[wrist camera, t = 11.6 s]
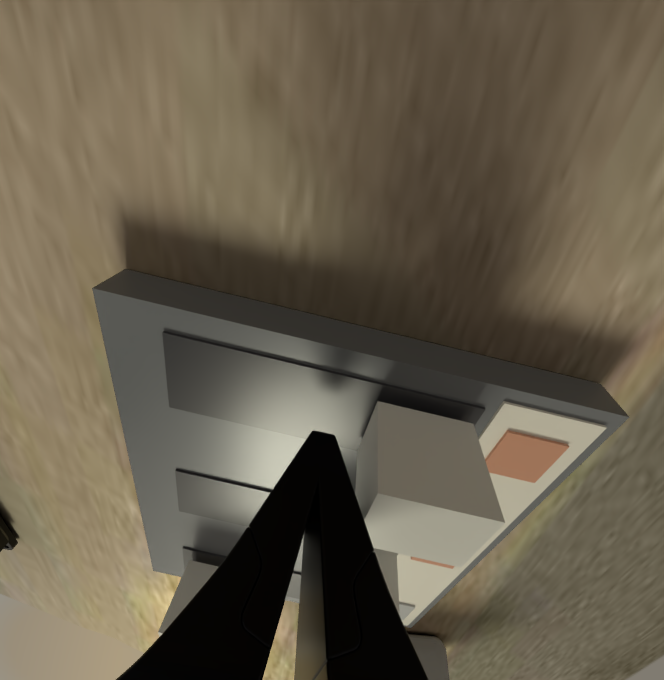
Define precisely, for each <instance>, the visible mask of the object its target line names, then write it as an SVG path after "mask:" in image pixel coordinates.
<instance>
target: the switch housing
mask: <svg viewBox="0 0 664 680" xmlns="http://www.w3.org/2000/svg"><path fill="white" fill-rule="evenodd" d="M92 289H93V294H94V298H95V303H96V307H97V312H98V317H99V321H100V326H101V331H102V335H103V340H104V344H105V349H106V354H107V358H108V363H109V368H110V372H111V377H112V381H113V386H114V391H115V395H116V400H117V405H118V409H119V414H120V419H121V423H122V428H123V432H124V437H125V442H126V446H127V451H128V456H129V460H130V465H131V469H132V474H133V479H134V483H135V488H136V493H137V497H138V502H139V506H140V511H141V516H142V520H143V525H144V530H145V534H146V539H147V543H148V548H149V553H150V557H151V562H152V567H153V571H157V572H161V573H166V574H170V575H175V576H179V577H182V576H183V573H184V571H185V569H186V566H187V564H188V562H189V560H191V561H196V562H200V563H205V564H209V565H214V566H218V567H219V566H220V565H221V563H222V562H223V561H224V560H225V558H226V557H227V555H228V554H229V553H230V551H231V550H232V548H233V547H234V546H235V544H236V543H237V541H238V540H239V538H240V537H241V536H242V534H243V533H244V531H245V530H246V528H247V527H249V524H250V522H251V521H252V519H253V518H254V516H255V515H256V513H257V512H258V511H259V509H260V508H261V506H262V505H263V503H264V502H265V500H266V499H267V497H268V496H269V494H270V493H271V491H272V490H273V488H274V487H275V485H276V484H277V482H278V481H279V479H280V478H281V476H282V475H283V473H284V472H285V470H286V469H287V467H288V466H289V464H290V463H291V461H292V460H293V458H294V457H295V455H296V454H297V452H298V451H299V449H300V448H301V446H302V445H303V443H304V442H305V440H306V439H307V437H308V436H309V434H310V433H311V432H312V431H313V430H315V431H319V432H324V433H329V434H333V435H335V436H336V439H337V442H338V445H339V448H340V450H341V453H342V456H343V459H344V462H345V465H346V468H347V471H348V474H349V477H350V480H351V483H352V486H353V489H354V492H355V489H356V471H357V454H358V449H359V446H360V444H361V441H362V439H363V436H364V434H365V431H366V429H367V426H368V424H369V421H370V419H371V416H372V414H373V411H374V409H375V406H376V404H377V401H380V402H384V403H388V404H392V405H396V406H401V407H405V408H409V409H413V410H418V411H422V412H426V413H430V414H434V415H439V416H443V417H447V418H451V419H455V420H460V421H464V422H468V423H472V424H474V427H475V430H476V433H477V436H478V439H479V443H480V446H481V449H482V452H483V455H484V458H485V461H486V464H487V467H488V471H489V474H490V477H491V480H492V483H493V486H494V489H495V492H496V495H497V498H498V502H499V505H500V508H501V511H502V514H503V517H504V520H505V524H504V525H503V526H502V527H501V528H500V529H499V530H498V531H497V532H496V533H495V534H494V535H493V536H492V537H491V538H490V539H489V540H488V541H487V542H486V543H485V544H484V545H483V546H482V547H481V548H480V549H479V550H478V551H477V552H476V553H475V554H474V555H473V556H472V557H471V558H470V559H469V560H468V561H467V562H466V563H465V564H464V565H463V566H462V567H461V568H460V567H456V566H451V565H447V564H442V563H438V562H434V561H429V560H425V559H420V558H416V557H412V556H407V555H403V554H398V553H397V569H398V590H399V611H400V618H401V620H402V622H403V624H404V626H405V627H409V628H411V627H413V626H414V625H415V624H416V623H417V622H418V621H419V620H420V619H421V618H422V617H423V616H424V615H425V614H426V613H427V612H428V611H429V610H430V609H431V608H432V607H433V606H434V605H435V604H436V603H437V602H438V601H439V600H440V599H442V598H443V597H444V596H445V595H446V594H447V593H448V592H449V591H450V590H451V589H452V588H453V587H454V586H455V585H456V584H457V583H458V582H459V581H460V580H461V579H462V578H463V577H464V576H465V575H466V574H467V573H468V572H469V571H471V570H472V569H473V568H474V567H475V566H476V565H477V564H478V563H479V562H480V561H481V560H482V559H483V558H484V557H485V556H486V555H487V554H488V553H489V552H490V551H491V550H492V549H493V548H494V547H495V546H496V545H497V544H499V543H500V542H501V541H502V540H503V539H504V538H505V537H506V536H507V535H508V534H509V533H510V532H511V531H512V530H513V529H514V528H515V527H516V526H517V525H518V524H519V523H520V522H521V521H522V520H523V519H524V518H525V517H526V516H528V515H529V514H530V513H531V512H532V511H533V510H534V509H535V508H536V507H537V506H538V505H539V504H540V503H541V502H542V501H543V500H544V499H545V498H546V497H547V496H548V495H549V494H550V493H551V492H552V491H553V490H554V489H555V488H557V487H558V486H559V485H560V484H561V483H562V482H563V481H564V480H565V479H566V478H567V477H568V476H569V475H570V474H571V473H572V472H573V471H574V470H575V469H576V468H577V467H578V466H579V465H580V464H581V463H582V462H583V461H584V460H586V459H587V458H588V457H589V456H590V455H591V454H592V453H593V452H594V451H595V450H596V449H597V448H598V447H599V446H600V445H601V444H602V443H603V442H604V441H605V440H606V439H607V438H608V437H609V436H610V435H611V434H612V433H613V432H615V431H616V430H617V429H618V428H619V427H620V426H621V425H622V424H623V423H624V422H625V421H626V420H627V419H628V418H629V416H628V415H627V414H626V413H625V412H624V410H623V409H622V408H621V407H620V406H619V405H618V403H617V402H616V401H615V400H614V399H613V398H612V396H611V395H610V394H609V393H608V392H607V391H606V389H605V388H604V387H603V386H602V385H601V384H599V383H595V382H591V381H587V380H583V379H578V378H574V377H570V376H566V375H562V374H558V373H554V372H549V371H545V370H541V369H537V368H533V367H529V366H525V365H521V364H516V363H512V362H508V361H504V360H500V359H496V358H492V357H487V356H483V355H479V354H475V353H471V352H467V351H463V350H459V349H454V348H450V347H446V346H442V345H438V344H434V343H430V342H425V341H421V340H417V339H413V338H409V337H405V336H401V335H397V334H392V333H388V332H384V331H380V330H376V329H372V328H368V327H363V326H359V325H355V324H351V323H347V322H343V321H339V320H335V319H330V318H326V317H322V316H318V315H314V314H310V313H306V312H301V311H297V310H293V309H289V308H285V307H281V306H277V305H273V304H268V303H264V302H260V301H256V300H252V299H248V298H244V297H239V296H235V295H231V294H227V293H223V292H219V291H215V290H211V289H206V288H202V287H198V286H194V285H190V284H186V283H182V282H177V281H173V280H169V279H165V278H161V277H157V276H153V275H149V274H144V273H140V272H136V271H132V270H128V269H125V270H123V271H121V272H119V273H118V274H116V275H114V276H113V277H111V278H109V279H107V280H106V281H104V282H102V283H101V284H99V285H97V286H95V287H94V288H92ZM303 540H304V536H303V539H302V543H301V546H300V550H299V553H298V557H297V560H296V564H295V567H294V570H293V574H292V577H291V581H290V584H289V588H288V591H287V595H286V598H285V600H287V601H292V602H296V603H299V601H300V585H301V570H302V555H303Z"/></svg>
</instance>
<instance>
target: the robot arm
mask: <svg viewBox="0 0 664 680" xmlns="http://www.w3.org/2000/svg"><path fill="white" fill-rule="evenodd" d="M303 536H304V540H303V555H302V570H301V585H300V601H299V616H298V631H297V646H296V661H295V676H294V680H429V679H428V677H427V675H426V673H425V671H424V668H423V666H422V664H421V662H420V660H419V657H418V655H417V653H416V651H415V649H414V646H413V644H412V642H411V640H410V638H409V635H408V633H407V631H406V629H405V627H404V624H403V622H402V620H401V618H400V615H399V613H398V611H397V608H396V606H395V604H394V601H393V599H392V597H391V594H390V592H389V589H388V587H387V584H386V581H385V579H384V576H383V573H382V571H381V568H380V565H379V562H378V559H377V556H376V553H375V552H373V551H374V548H373V545H372V542H371V539H370V536H369V533H368V530H367V527H366V524H365V521H364V518H363V515H362V512H361V509H360V506H359V503H358V500H357V498H356V495H355V492H354V489H353V486H352V483H351V480H350V477H349V474H348V471H347V468H346V465H345V462H344V459H343V456H342V453H341V450H340V448H339V445H338V442H337V439H336V436H335V435H333V434H329V433H324V432H319V431H315V430H313V431H312V432H311V433H310V434H309V436H308V437H307V439H306V440H305V442H304V443H303V445H302V446H301V448H300V449H299V451H298V452H297V454H296V455H295V457H294V458H293V460H292V461H291V463H290V464H289V466H288V467H287V469H286V470H285V472H284V473H283V475H282V476H281V478H280V479H279V481H278V482H277V484H276V485H275V487H274V488H273V490H272V491H271V493H270V494H269V496H268V497H267V499H266V500H265V502H264V503H263V505H262V506H261V508H260V509H259V511H258V512H257V513H256V515H255V516H254V518H253V519H252V521H251V522H250V524H249V527H247V528H246V530H245V531H244V533H243V534H242V536H241V537H240V538H239V540H238V541H237V543H236V544H235V546H234V547H233V548H232V550H231V551H230V553H229V554H228V555H227V557H226V558H225V560H224V561H223V562H222V563H221V565H220V566H219V567H218V568H217V570H216V571H215V572H214V573H213V575H212V576H211V577H210V578H209V580H208V581H207V582H206V583H205V584H204V585H203V587H202V588H201V589H200V590H199V591H198V593H197V594H196V595H195V596H194V597H193V598H192V600H191V601H190V602H189V603H188V604H187V605H186V607H185V608H184V609H183V610H182V611H181V613H180V614H179V615H178V616H177V617H176V618H175V620H174V621H173V622H172V623H171V624H170V625H169V627H168V628H167V629H166V630H165V631H164V632H163V634H162V635H161V636H160V637H159V638H158V639H157V640H156V641H155V642H154V644H153V645H152V646H151V647H150V648H149V649H148V650H147V651H146V652H145V653H144V654H143V655H142V656H141V657H140V658H139V659H138V660H137V661H136V662H135V663H134V664H133V665H132V666H131V667H130V668H129V669H127V670H126V671H125V672H124V673H123V674H122V675H121V676H120V677H118V678H117V679H116V680H262V678H263V675H264V671H265V668H266V664H267V661H268V657H269V654H270V650H271V647H272V643H273V640H274V636H275V633H276V630H277V626H278V623H279V619H280V616H281V612H282V609H283V605H284V602H285V598H286V595H287V591H288V588H289V584H290V581H291V577H292V574H293V570H294V567H295V564H296V560H297V557H298V553H299V550H300V546H301V543H302V539H303ZM17 543H18V542H17V540H16V539H15V537H14V536H13V534H12V533H11V531H10V530H9V528H8V527H7V525H6V524H5V523H4V521H3V520H2V518H1V517H0V552H1V550H2V549H7V550H12V549H13V548H14V547H15V546H16V545H17Z"/></svg>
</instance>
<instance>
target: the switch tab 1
mask: <svg viewBox="0 0 664 680" xmlns="http://www.w3.org/2000/svg"><path fill="white" fill-rule="evenodd" d="M217 568H218V566H214V565H209V564H205V563H200V562H196V561H191V560H189V562H188V564H187V566H186V569H185V571H184V573H183V576H182V578H181V580H180V583H179V585H178V587H177V590H176V592H175V594H174V597H173V599H172V601H171V604H170V606H169V608H168V611H167V613H166V615H165V618H164V620H163V622H162V625H161V627H160V629H159V632H158V633H159V637H160V636H161V635H162V634H163V632H164V631H165V630H166V629H167V628H168V627H169V625H170V624H171V623H172V622H173V621H174V620H175V618H176V617H177V616H178V615H179V614H180V613H181V611H182V610H183V609H184V608H185V607H186V605H187V604H188V603H189V602H190V601H191V600H192V598H193V597H194V596H195V595H196V594H197V593H198V591H199V590H200V589H201V588H202V587H203V585H204V584H205V583H206V582H207V581H208V580H209V578H210V577H211V576H212V575H213V573H214V572H215V571H216V570H217Z"/></svg>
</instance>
